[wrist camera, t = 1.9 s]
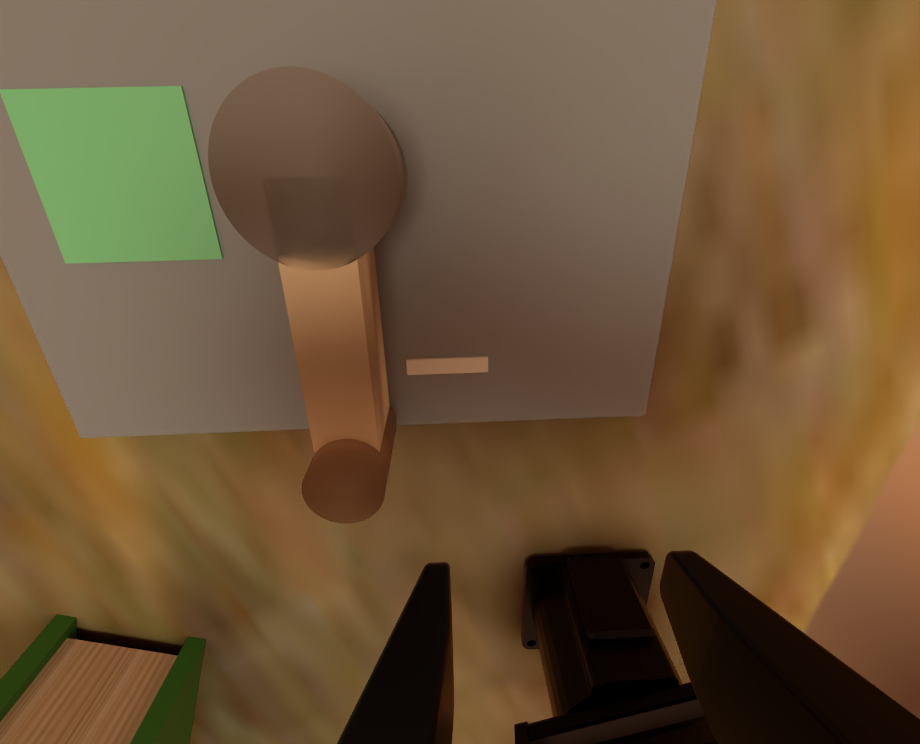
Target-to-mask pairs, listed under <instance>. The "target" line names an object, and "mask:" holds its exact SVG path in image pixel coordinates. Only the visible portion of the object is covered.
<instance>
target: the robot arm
mask: <svg viewBox="0 0 920 744" xmlns="http://www.w3.org/2000/svg"><path fill="white" fill-rule="evenodd" d="M534 567H536V568H534ZM654 567H655V562H654V560H653V558H652V556H651V555H650V554H649V553H647V552H628V553H607V554H587V555H566V556H545V557H532V558H530V559H528V560H527V561H526V563H525V573H524V592H523V612H522V631H521V638H522V644H523V647H524V648H526V649H539V651H540V655H541V660H542V665H543V670H544V675H545V680H546V685H547V689H548V694H549V699H550V704H551V709H552V714H553V718H549V719H545V720H541V721H537V722H533V723H529V724H528V722H527V721H526V722H522V723H518V724H515V726H514V727H515V744H920V719H919V718H918V717H916V716H915V715H913V714H912V713H911V712H910V711H908V710H907V709H906V708H904V707H903V706H902V705H900V704H899V703H897V702H896V701H895V700H893V699H892V698H891V697H889V696H888V695H887V694H885V693H884V692H883V691H881V690H880V689H879V688H877V687H876V686H875V685H873V684H872V683H870V682H869V681H867V679H865V678H864V677H862V676H861V675H860V674H858V673H857V672H856V671H854V670H853V669H852V668H850V667H849V666H848V665H846V664H845V663H843V662H842V661H841V660H840V659H838V658H837V657H836V656H834V655H833V654H832V653H830V652H829V651H827V650H826V649H825V648H823V647H822V646H821V645H819V644H818V643H817V642H815V641H814V640H812V639H811V638H810V637H809V636H807V635H806V634H805V633H803V632H802V631H801V630H799V629H798V628H796V627H795V626H794V625H792V624H791V623H790V622H788V621H787V620H786V619H784V618H783V617H782V616H780V615H779V614H778V613H776V612H775V611H774V610H772V609H771V608H770V607H768V606H767V605H766V604H764V603H763V602H761V601H760V600H759V599H757V598H756V597H755V596H753V595H752V594H751V593H749V592H748V591H747V590H745V589H744V588H743V587H741V586H740V585H739V584H737V583H736V582H735V581H733V580H732V579H731V578H729V577H728V576H726V575H725V574H724V573H722V572H721V571H720V570H718V569H717V568H716V567H714V566H713V565H712V564H710V563H709V562H708V561H706V560H705V559H704V558H702V557H701V556H700V555H698V554H697V553H695V552H693V551H689V550H686V551H671V552H669V553H668V554H667V556H666V559H665V563H664V568H663V572H662V577H661V581H660V593H661V598H662V601H663V604H664V607H665V609H666V612H667V615H668V618H669V621H670V624H671V627H672V630H673V632H674V635H675V638H676V641H677V644H678V647H679V650H680V653H681V656H682V658H683V661H684V664H685V667H686V670H687V673H688V676H689V678H690V681H691V682H689V683H685V684H682V682H681V679H680V677H679V675H678V673H677V671H676V669H675V667H674V665H673V662H672V660H671V658H670V656H669V654H668V652H667V650H666V648H665V645H664V643H663V641H662V639H661V637H660V635H659V633H658V631H657V628H656V626H655V624H654V622H653V620H652V618H651V616H650V614H649V611H648V609H647V607H646V604H647V599H648V594H649V590H650V585H651V580H652V576H653V571H654ZM453 715H454V673H453V639H452V605H451V581H450V565H449V564H448V563H447V562H440V563H428V564H426V566H425V567H424V569H423V571H422V573H421V575H420V577H419V579H418V581H417V583H416V585H415V587H414V589H413V591H412V593H411V595H410V597H409V599H408V601H407V603H406V605H405V607H404V609H403V611H402V613H401V615H400V617H399V619H398V621H397V623H396V625H395V627H394V629H393V631H392V633H391V635H390V637H389V639H388V641H387V644H386V646H385V648H384V650H383V652H382V654H381V656H380V658H379V660H378V662H377V664H376V666H375V668H374V670H373V672H372V674H371V676H370V678H369V680H368V682H367V684H366V686H365V688H364V690H363V692H362V694H361V696H360V698H359V700H358V702H357V704H356V706H355V708H354V710H353V712H352V714H351V716H350V719H349V721H348V723H347V725H346V727H345V729H344V731H343V733H342V735H341V737H340V739H339V741H338V743H337V744H452V731H453Z"/></svg>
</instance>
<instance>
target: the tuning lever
mask: <svg viewBox="0 0 920 744" xmlns="http://www.w3.org/2000/svg"><path fill="white" fill-rule="evenodd" d="M208 166H209V172H210V178H211V182H212V185H213V189H214V192H215V195H216V197H217V199H218V202H219V204H220V206H221V208H222V210H223V212H224V213H225V215H226V217H227V218H228V220H229V221H230V223H231V224H232V225H233V227H234V228H235V229H236V230H237V232H238V233H239V234H240V235H241V236H242V237H243V238H244V239H245V240H246V241H247V242H248V243H249V244H250V245H251V246H253V247H254V248H255V249H257V250H258V251H259V252H261V253H262V254H264V255H266V256H267V257H269V258H271V259H273V260H275V261H277V262H278V264H279V270H280V275H281V280H282V285H283V291H284V296H285V301H286V307H287V312H288V317H289V323H290V328H291V333H292V339H293V344H294V349H295V354H296V360H297V365H298V370H299V376H300V381H301V386H302V392H303V397H304V402H305V408H306V413H307V418H308V423H309V429H310V434H311V439H312V445H313V450H314V457H313V459H312V461H311V463H310V466H309V468H308V470H307V472H306V475H305V477H304V479H303V483H302V494H303V498H304V500H305V502H306V504H307V505H308V506H309V508H310V509H311V510H312V511H313V512H314V513H316V514H317V515H319V516H320V517H322V518H324V519H327V520H329V521H332V522H337V523H355V522H360V521H363V520H365V519H367V518H369V517H371V516H372V515H373V514H375V513H376V512H377V511H378V510H379V508H380V507H381V505H382V503H383V500H384V495H385V489H386V483H387V477H388V471H389V466H390V460H391V454H392V448H393V443H394V437H395V431H396V416H395V413H394V411H393V410H392V408H391V407H390V405H389V395H388V385H387V375H386V365H385V355H384V345H383V335H382V325H381V315H380V305H379V295H378V285H377V274H376V264H375V254H374V246H375V245H376V244H377V243H378V242H379V241H380V239H381V238H382V237H383V236H384V235H385V234H386V232H387V231H388V230H389V229H390V228H391V226H392V225H393V224H394V222H395V221H396V219H397V217H398V215H399V214H400V211H401V209H402V206H403V203H404V199H405V195H406V188H407V171H406V163H405V159H404V155H403V152H402V149H401V146H400V144H399V141H398V139H397V137H396V136H395V134H394V132H393V130H392V129H391V127H390V126H389V124H388V123H387V122H386V121H385V120H384V118H383V117H382V116H381V115H380V114H379V113H378V112H377V111H376V110H375V109H374V108H373V107H371V106H370V105H369V104H368V103H367V102H366V101H365V100H364V99H363V98H362V97H360V96H359V95H358V94H357V93H356V92H355V91H354V90H353V89H351V88H350V87H348V86H347V85H346V84H344V83H343V82H341V81H339V80H338V79H336V78H334V77H332V76H330V75H328V74H325V73H322V72H320V71H317V70H313V69H309V68H304V67H292V66H286V67H275V68H271V69H268V70H264V71H261V72H259V73H256V74H254V75H252V76H250V77H248V78H247V79H245V80H244V81H242V82H241V83H240V84H238V85H237V86H236V87H235V88H234V89H233V90H232V91H231V92H230V93H229V95H228V96H227V97H226V98H225V100H224V101H223V102H222V104H221V106H220V108H219V110H218V111H217V113H216V116H215V118H214V121H213V124H212V127H211V132H210V136H209V144H208Z"/></svg>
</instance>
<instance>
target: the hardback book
mask: <svg viewBox="0 0 920 744" xmlns="http://www.w3.org/2000/svg"><path fill="white" fill-rule="evenodd" d="M205 642H206V639H200V638H194V637H189V636H188V637H187V639H186V641H185V643H184V645H183V647H182V649H181V650H180V652H179V654H178V656H176V655H170V654H164V653H158V652H151V651H145V650H139V649H133V648H127V647H120V646H114V645H108V644H102V643H96V642H89V641H83V640H77V618H76V617H70V616H64V615H58V614H57V615H56V616H55V617H54V619H53V620H52V621H51V622H50V623H49V624H48V625H47V627H46V628H45V629H44V630H43V631H42V632H41V634H40V635H39V636H38V637H37V638H36V639H35V641H34V642H33V643H32V644H31V645H30V646H29V647H28V649H27V650H26V651H25V652H24V653H23V654H22V656H21V657H20V658H19V659H18V660H17V661H16V663H15V664H14V665H13V666H12V667H11V668H10V669H9V671H8V672H7V673H6V674H5V675H4V676H3V678H2V679H1V680H0V744H189V743H190V737H191V730H192V724H193V718H194V711H195V705H196V699H197V692H198V686H199V680H200V673H201V667H202V661H203V654H204V648H205Z"/></svg>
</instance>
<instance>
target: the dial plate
mask: <svg viewBox="0 0 920 744" xmlns="http://www.w3.org/2000/svg"><path fill="white" fill-rule="evenodd" d="M716 2H717V0H0V256H1V258H2V260H3V262H4V265H5V267H6V269H7V271H8V274H9V276H10V278H11V281H12V283H13V285H14V287H15V290H16V292H17V294H18V297H19V299H20V301H21V303H22V306H23V308H24V310H25V312H26V315H27V317H28V319H29V322H30V324H31V326H32V328H33V331H34V333H35V335H36V337H37V340H38V342H39V344H40V347H41V349H42V351H43V353H44V356H45V358H46V360H47V363H48V365H49V367H50V369H51V372H52V374H53V376H54V378H55V381H56V383H57V385H58V388H59V390H60V392H61V394H62V397H63V399H64V401H65V403H66V406H67V408H68V410H69V413H70V415H71V417H72V419H73V422H74V424H75V426H76V429H77V431H78V433H79V435H80V438H96V437H121V436H146V435H171V434H196V433H222V432H247V431H272V430H297V429H309V423H308V418H307V413H306V408H305V402H304V397H303V392H302V386H301V381H300V376H299V370H298V365H297V360H296V354H295V349H294V344H293V339H292V333H291V328H290V323H289V317H288V312H287V307H286V301H285V296H284V291H283V285H282V280H281V275H280V270H279V264H278V262H277V261H275V260H273V259H271V258H269V257H267V256H266V255H264V254H262V253H261V252H259V251H258V250H257V249H255V248H254V247H253V246H251V245H250V244H249V243H248V242H247V241H246V240H245V239H244V238H243V237H242V236H241V235H240V234H239V233H238V232H237V230H236V229H235V228H234V227H233V225H232V224H231V223H230V221H229V220H228V218H227V217H226V215H225V213H224V212H223V210H222V208H221V206H220V204H219V202H218V199H217V197H216V195H215V192H214V189H213V185H212V182H211V178H210V172H209V166H208V144H209V136H210V132H211V127H212V124H213V121H214V118H215V116H216V113H217V111H218V110H219V108H220V106H221V104H222V102H223V101H224V100H225V98H226V97H227V96H228V95H229V93H230V92H231V91H232V90H233V89H234V88H235V87H236V86H237V85H238V84H240V83H241V82H242V81H244V80H245V79H247V78H248V77H250V76H252V75H254V74H256V73H259V72H261V71H264V70H268V69H271V68H275V67H286V66H292V67H304V68H309V69H313V70H317V71H320V72H322V73H325V74H328V75H330V76H332V77H334V78H336V79H338V80H339V81H341V82H343V83H344V84H346V85H347V86H348V87H350V88H351V89H353V90H354V91H355V92H356V93H357V94H358V95H359V96H360V97H362V98H363V99H364V100H365V101H366V102H367V103H368V104H369V105H370V106H371V107H373V108H374V109H375V110H376V111H377V112H378V113H379V114H380V115H381V116H382V117H383V118H384V120H385V121H386V122H387V123H388V124H389V126H390V127H391V129H392V130H393V132H394V134H395V136H396V137H397V139H398V141H399V144H400V146H401V149H402V152H403V155H404V159H405V163H406V171H407V188H406V195H405V199H404V203H403V206H402V209H401V211H400V214H399V215H398V217H397V219H396V221H395V222H394V224H393V225H392V226H391V228H390V229H389V230H388V231H387V232H386V234H385V235H384V236H383V237H382V238H381V239H380V241H379V242H378V243H377V244H376V245H375V246H374V254H375V264H376V274H377V285H378V295H379V305H380V315H381V325H382V335H383V345H384V355H385V365H386V375H387V385H388V395H389V405H390V407H391V408H392V410H393V411H394V413H395V416H396V426H398V425H423V424H448V423H473V422H498V421H523V420H548V419H574V418H599V417H624V416H646V410H647V404H648V399H649V393H650V387H651V381H652V375H653V369H654V364H655V358H656V352H657V346H658V340H659V334H660V329H661V323H662V317H663V311H664V305H665V299H666V294H667V288H668V282H669V276H670V270H671V264H672V259H673V253H674V247H675V241H676V235H677V229H678V224H679V218H680V212H681V206H682V200H683V194H684V189H685V183H686V177H687V171H688V165H689V159H690V154H691V148H692V142H693V136H694V130H695V124H696V119H697V113H698V107H699V101H700V95H701V89H702V84H703V78H704V72H705V66H706V60H707V54H708V49H709V43H710V37H711V31H712V25H713V19H714V14H715V8H716Z"/></svg>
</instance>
